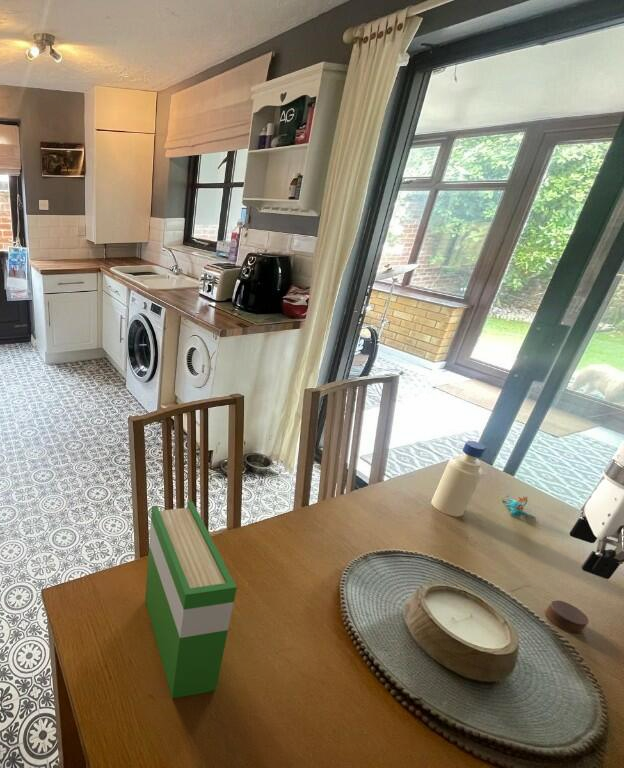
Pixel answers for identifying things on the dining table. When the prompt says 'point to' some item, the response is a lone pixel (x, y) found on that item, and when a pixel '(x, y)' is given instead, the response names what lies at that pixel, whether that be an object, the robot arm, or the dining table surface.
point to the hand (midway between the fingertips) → (587, 555)
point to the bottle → (459, 480)
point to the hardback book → (187, 600)
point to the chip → (566, 616)
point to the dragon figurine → (517, 507)
